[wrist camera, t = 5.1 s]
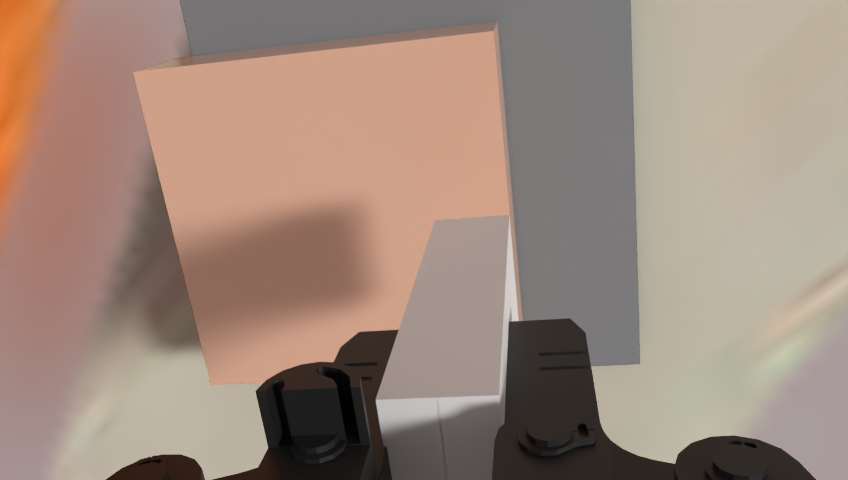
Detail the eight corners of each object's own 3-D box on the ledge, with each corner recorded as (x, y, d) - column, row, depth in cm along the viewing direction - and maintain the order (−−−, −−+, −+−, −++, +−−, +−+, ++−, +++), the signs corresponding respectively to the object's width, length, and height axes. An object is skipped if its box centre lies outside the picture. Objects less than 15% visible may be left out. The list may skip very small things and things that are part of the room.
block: (493, 30, 17) (132, 71, 19) (523, 371, 20) (211, 384, 22) (497, 21, 20) (178, 57, 21) (523, 325, 23) (243, 340, 24)
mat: (626, -57, 19) (629, -57, 19) (637, 354, 24) (639, 364, 23) (188, -1, 21) (179, 0, 21) (269, 370, 25) (264, 379, 25)
